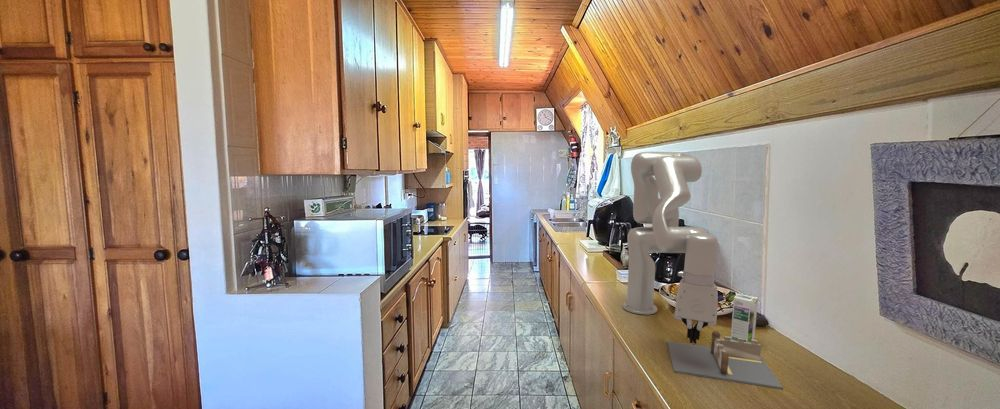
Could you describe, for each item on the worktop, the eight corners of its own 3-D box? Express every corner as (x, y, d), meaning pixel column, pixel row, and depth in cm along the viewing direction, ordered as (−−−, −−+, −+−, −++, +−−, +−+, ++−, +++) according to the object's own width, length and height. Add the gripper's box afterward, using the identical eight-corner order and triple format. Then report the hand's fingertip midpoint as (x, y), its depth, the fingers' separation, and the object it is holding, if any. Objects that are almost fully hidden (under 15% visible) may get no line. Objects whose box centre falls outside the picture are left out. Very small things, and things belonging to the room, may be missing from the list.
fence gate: (712, 353, 113) (713, 337, 113) (718, 354, 113) (720, 337, 112) (721, 372, 103) (722, 354, 102) (727, 374, 102) (729, 355, 102)
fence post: (709, 352, 116) (711, 329, 115) (757, 359, 112) (760, 335, 111) (711, 356, 114) (712, 332, 113) (760, 363, 110) (762, 338, 109)
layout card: (666, 342, 122) (667, 340, 122) (758, 355, 115) (759, 353, 115) (674, 372, 105) (674, 369, 105) (782, 389, 98) (782, 387, 98)
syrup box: (729, 341, 124) (733, 296, 122) (734, 335, 128) (737, 292, 126) (750, 347, 120) (754, 301, 118) (754, 340, 124) (758, 296, 122)
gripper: (668, 278, 106) (663, 341, 109) (731, 286, 100) (724, 353, 103) (668, 270, 113) (663, 330, 116) (727, 278, 107) (721, 340, 110)
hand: (692, 340), depth 109 cm, fingers closed
